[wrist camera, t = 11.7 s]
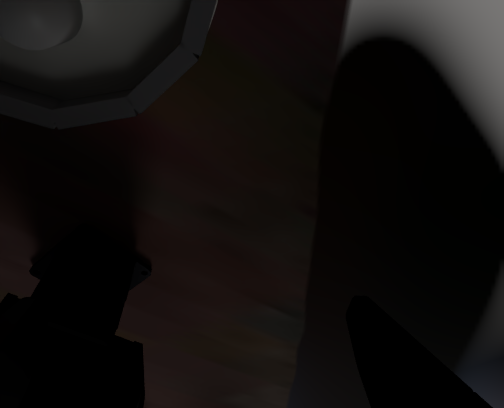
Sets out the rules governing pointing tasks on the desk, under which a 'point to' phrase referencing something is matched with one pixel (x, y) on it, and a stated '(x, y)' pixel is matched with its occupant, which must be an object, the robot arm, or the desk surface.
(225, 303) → the desk surface
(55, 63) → the carrier plate
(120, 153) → the desk surface
